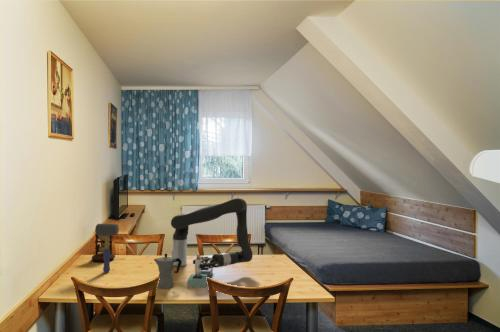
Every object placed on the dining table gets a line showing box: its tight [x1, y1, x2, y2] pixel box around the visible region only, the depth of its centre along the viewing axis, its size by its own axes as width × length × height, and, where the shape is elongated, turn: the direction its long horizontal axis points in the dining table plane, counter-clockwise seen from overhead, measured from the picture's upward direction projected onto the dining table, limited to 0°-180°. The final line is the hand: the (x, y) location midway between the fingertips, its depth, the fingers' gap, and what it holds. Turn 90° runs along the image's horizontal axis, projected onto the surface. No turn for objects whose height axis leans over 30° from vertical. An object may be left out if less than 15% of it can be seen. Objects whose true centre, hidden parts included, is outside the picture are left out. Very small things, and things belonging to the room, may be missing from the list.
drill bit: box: [194, 253, 202, 279], centre depth 204 cm, size 3×3×17 cm
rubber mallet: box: [94, 222, 120, 273], centre depth 221 cm, size 12×8×30 cm, turn 93°
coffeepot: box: [153, 253, 182, 290], centre depth 200 cm, size 15×9×18 cm, turn 90°
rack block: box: [187, 273, 207, 288], centre depth 204 cm, size 9×9×4 cm
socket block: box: [201, 267, 214, 277], centre depth 219 cm, size 9×9×4 cm
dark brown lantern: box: [91, 233, 116, 262], centre depth 247 cm, size 15×15×20 cm
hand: (196, 264), depth 203 cm, fingers open, 8 cm apart
